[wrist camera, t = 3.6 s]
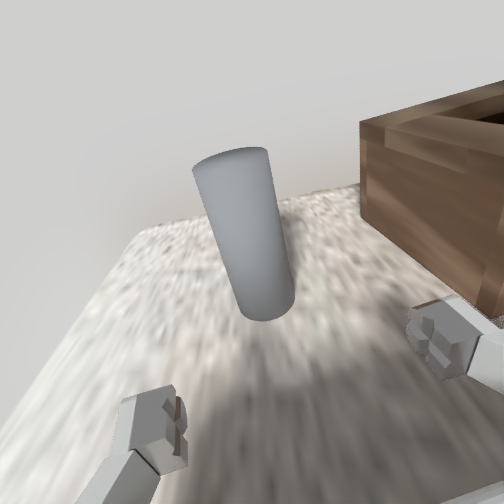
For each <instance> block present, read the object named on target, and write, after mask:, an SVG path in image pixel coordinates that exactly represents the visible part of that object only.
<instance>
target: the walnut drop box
mask: <svg viewBox="0 0 504 504" xmlns="http://www.w3.org/2000/svg"><path fill="white" fill-rule="evenodd" d="M360 196H361V218H362V219H364V220H365V221H366V222H368V223H369V224H370V225H371V226H373V227H374V228H375V229H376V230H378V231H379V232H380V233H382V234H383V235H384V236H385V237H387V238H388V239H389V240H391V241H392V242H393V243H394V244H396V245H397V246H398V247H400V248H401V249H402V250H403V251H405V252H406V253H407V254H408V255H410V256H411V257H412V258H414V259H415V260H416V261H417V262H419V263H420V264H421V265H423V266H424V267H425V268H426V269H428V270H429V271H430V272H431V273H433V274H434V275H435V276H437V277H438V278H439V279H440V280H442V281H443V282H444V283H446V284H447V285H448V286H449V287H451V288H452V289H453V290H455V291H456V292H457V293H458V294H460V295H461V296H462V297H463V298H465V299H466V300H467V301H469V302H470V303H471V304H472V305H474V306H475V307H476V308H478V309H479V310H480V311H481V312H483V313H484V314H485V315H486V316H488V317H489V318H490V319H492V318H495V317H498V316H501V315H504V80H503V81H499V82H496V83H492V84H489V85H485V86H482V87H478V88H475V89H471V90H468V91H464V92H461V93H457V94H454V95H450V96H447V97H443V98H440V99H436V100H433V101H429V102H426V103H422V104H419V105H415V106H412V107H408V108H405V109H401V110H398V111H394V112H391V113H387V114H384V115H380V116H377V117H373V118H370V119H367V120H363V121H360Z"/></svg>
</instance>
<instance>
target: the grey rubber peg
mask: <svg viewBox="0 0 504 504" xmlns="http://www.w3.org/2000/svg"><path fill="white" fill-rule="evenodd" d="M192 172H193V175H194V178H195V180H196V183H197V186H198V189H199V192H200V195H201V198H202V201H203V204H204V207H205V209H206V213H207V216H208V218H209V221H210V224H211V227H212V230H213V233H214V236H215V239H216V242H217V245H218V248H219V251H220V253H221V256H222V259H223V262H224V265H225V268H226V271H227V274H228V277H229V280H230V283H231V286H232V288H233V291H234V294H235V297H236V300H237V303H238V306H239V309H240V311H241V313H242V314H243V315H244V316H245V317H247V318H249V319H251V320H255V321H269V320H273V319H276V318H278V317H280V316H282V315H284V314H285V313H286V312H287V311H288V310H289V309H290V308H291V307H292V305H293V303H294V299H295V296H294V290H293V285H292V280H291V274H290V269H289V264H288V258H287V253H286V248H285V243H284V237H283V232H282V227H281V221H280V216H279V211H278V205H277V200H276V195H275V190H274V184H273V179H272V174H271V168H270V163H269V158H268V153H267V150H266V149H264V148H262V147H246V148H238V149H233V150H229V151H225V152H222V153H219V154H216V155H214V156H211V157H208V158H206V159H204V160H202V161H201V162H199V163H197V164H196V165H195V166H194V167H193V169H192Z"/></svg>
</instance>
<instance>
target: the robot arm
mask: <svg viewBox="0 0 504 504" xmlns="http://www.w3.org/2000/svg"><path fill="white" fill-rule="evenodd" d="M408 317H409V318H410V321H409V323H408V324H407V325H406V334H407V337H408V340H409V342H410V344H411V345H412V347H413V348H414V349H415V350H416V351H417V352H418V353H420V354H422V355H424V356H426V360H427V364H428V366H429V367H430V368H431V369H432V370H433V371H434V372H435V374H436V375H437V376H438V377H439V378H440V379H441V380H442V381H443V380H447V379H450V378H453V377H457V376H460V375H463V374H467V373H468V374H467V375H468V376H470V377H472V378H474V379H475V380H477V381H479V382H481V383H483V384H485V385H486V386H488V387H490V388H492V389H494V390H495V391H497V392H499V393H501V394H503V395H504V328H503V329H499V328H498V327H497V326H496V325H494V324H493V323H492V322H490V321H489V320H488V319H487V318H485V317H484V316H483V315H481V314H480V313H479V312H478V311H476V310H475V309H474V308H472V307H471V306H470V305H469V304H467V303H466V302H465V301H464V300H462V299H461V298H460V297H458V296H456V295H450V296H447V297H444V298H441V299H438V300H434V301H431V302H428V303H425V304H422V305H419V306H416V307H413V308H410V310H409V311H408ZM186 429H187V414H186V408H185V405H184V403H183V401H182V399H181V398H180V397H177V396H176V389H175V388H174V386H173V385H172V384H171V385H168V386H164V387H161V388H157V389H154V390H151V391H147V392H144V393H140V394H137V395H134V396H130V397H127V398H124V399H123V400H122V402H121V404H120V407H119V412H118V417H117V423H116V428H115V433H114V438H113V443H112V448H111V453H110V457H109V458H106V459H104V461H103V462H102V464H101V465H100V467H99V468H98V470H97V471H96V473H95V474H94V476H93V477H92V479H91V480H90V482H89V483H88V485H87V486H86V488H85V489H84V491H83V492H82V494H81V495H80V497H79V498H78V500H77V501H76V503H75V504H150V502H151V500H152V497H153V495H154V493H155V490H156V488H157V486H158V484H159V481H160V479H161V477H160V476H162V475H165V474H168V473H171V472H173V471H176V470H179V469H181V468H184V467H187V466H188V442H187V441H186V439H185V438H184V436H183V435H184V433H185V431H186ZM439 504H504V480H503V481H500V482H497V483H494V484H492V485H489V486H486V487H483V488H481V489H478V490H475V491H472V492H470V493H467V494H464V495H461V496H459V497H456V498H453V499H450V500H448V501H445V502H442V503H439Z"/></svg>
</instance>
